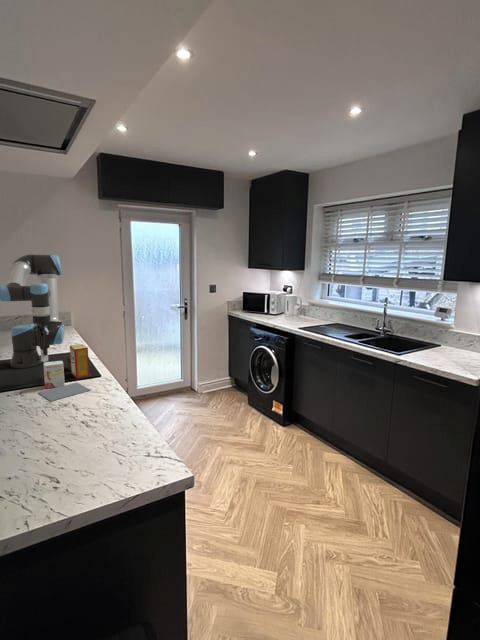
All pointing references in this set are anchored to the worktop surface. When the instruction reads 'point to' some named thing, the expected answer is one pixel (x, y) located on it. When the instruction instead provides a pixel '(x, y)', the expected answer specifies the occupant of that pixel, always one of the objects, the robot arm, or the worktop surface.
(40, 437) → the worktop surface
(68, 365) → the box
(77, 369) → the baking soda box
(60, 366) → the ink box
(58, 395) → the mat
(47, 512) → the worktop surface
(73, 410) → the worktop surface
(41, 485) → the worktop surface
